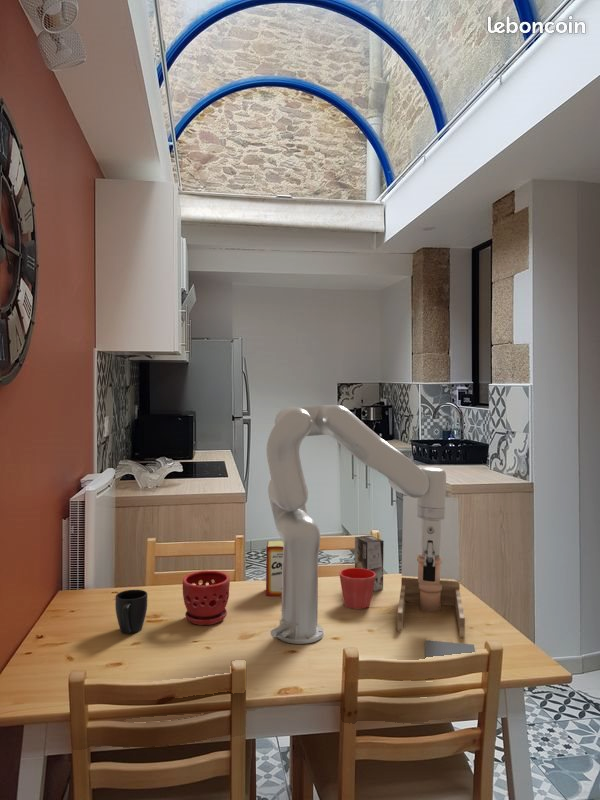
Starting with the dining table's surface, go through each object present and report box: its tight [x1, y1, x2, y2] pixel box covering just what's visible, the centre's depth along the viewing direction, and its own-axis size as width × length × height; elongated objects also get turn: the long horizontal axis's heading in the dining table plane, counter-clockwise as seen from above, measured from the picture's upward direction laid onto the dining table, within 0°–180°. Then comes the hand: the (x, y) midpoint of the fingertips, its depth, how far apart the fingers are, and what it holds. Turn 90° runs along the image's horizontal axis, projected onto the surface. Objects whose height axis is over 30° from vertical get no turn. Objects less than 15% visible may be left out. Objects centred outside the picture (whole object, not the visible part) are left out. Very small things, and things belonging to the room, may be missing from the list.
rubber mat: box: [424, 639, 476, 658], centre depth 142 cm, size 12×12×1 cm
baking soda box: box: [265, 540, 284, 597], centre depth 186 cm, size 10×6×16 cm
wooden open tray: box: [397, 576, 466, 638], centre depth 166 cm, size 25×17×7 cm
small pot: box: [417, 554, 442, 586], centre depth 160 cm, size 7×7×7 cm
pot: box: [419, 583, 442, 613], centre depth 173 cm, size 7×7×7 cm
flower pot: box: [339, 567, 376, 610], centre depth 175 cm, size 11×11×10 cm
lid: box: [401, 495, 460, 581], centre depth 183 cm, size 25×17×2 cm
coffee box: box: [354, 534, 385, 591], centre depth 193 cm, size 9×6×16 cm
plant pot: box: [182, 570, 231, 626], centre depth 162 cm, size 13×13×12 cm
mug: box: [114, 589, 148, 635], centre depth 153 cm, size 8×12×10 cm
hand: (428, 576), depth 160 cm, fingers closed on small pot, 6 cm apart
